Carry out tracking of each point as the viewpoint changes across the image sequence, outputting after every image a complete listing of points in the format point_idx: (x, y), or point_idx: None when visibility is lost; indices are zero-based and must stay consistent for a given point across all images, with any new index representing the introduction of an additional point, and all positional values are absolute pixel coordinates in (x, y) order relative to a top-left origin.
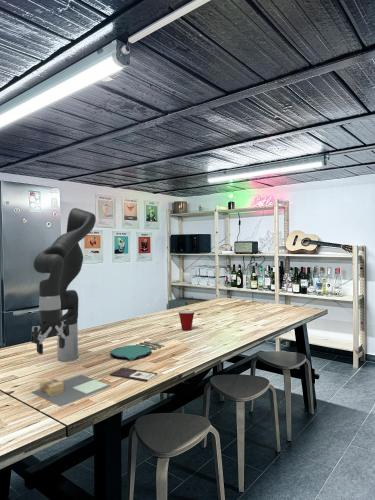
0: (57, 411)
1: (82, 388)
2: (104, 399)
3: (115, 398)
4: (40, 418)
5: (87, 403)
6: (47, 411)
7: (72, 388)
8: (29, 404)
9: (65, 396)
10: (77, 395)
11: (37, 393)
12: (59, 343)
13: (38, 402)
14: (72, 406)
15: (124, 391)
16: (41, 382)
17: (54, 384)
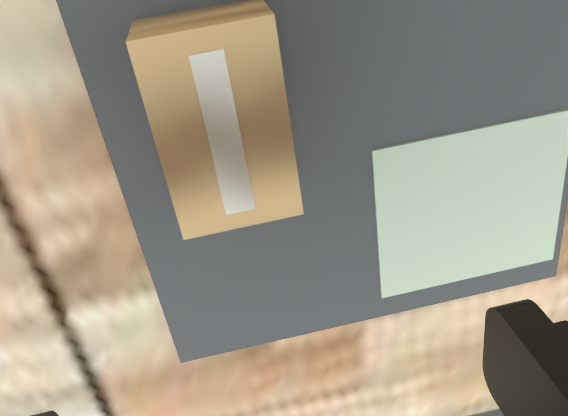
0: (154, 375)
1: (412, 212)
2: (412, 376)
3: (455, 392)
4: (48, 399)
5: (324, 372)
6: (103, 349)
7: (368, 155)
8: (10, 194)
9: (263, 255)
10: (329, 284)
11: (100, 61)
12: (541, 379)
13: (79, 201)
14: (245, 364)
15: None
16: (138, 74)
17: (225, 210)
